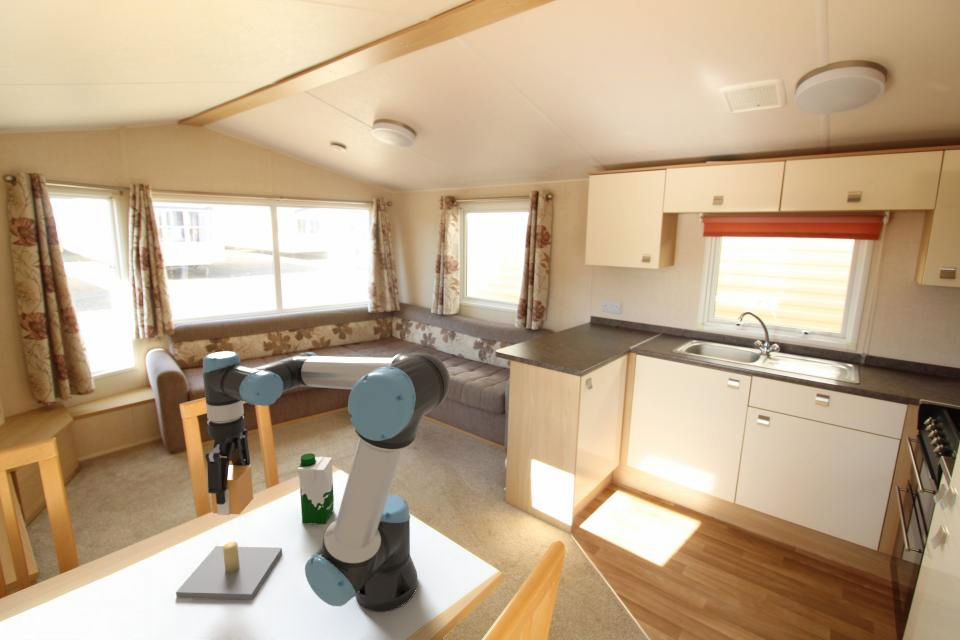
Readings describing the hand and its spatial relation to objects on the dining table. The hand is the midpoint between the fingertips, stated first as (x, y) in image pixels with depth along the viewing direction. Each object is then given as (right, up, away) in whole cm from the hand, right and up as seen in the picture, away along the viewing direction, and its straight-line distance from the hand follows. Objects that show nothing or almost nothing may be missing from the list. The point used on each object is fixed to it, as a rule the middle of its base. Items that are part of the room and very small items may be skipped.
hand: (232, 504), depth 110 cm
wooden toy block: (0, 0, 0) cm, 0 cm away
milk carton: (+11, -15, +28) cm, 33 cm away
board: (-2, -19, +4) cm, 20 cm away
